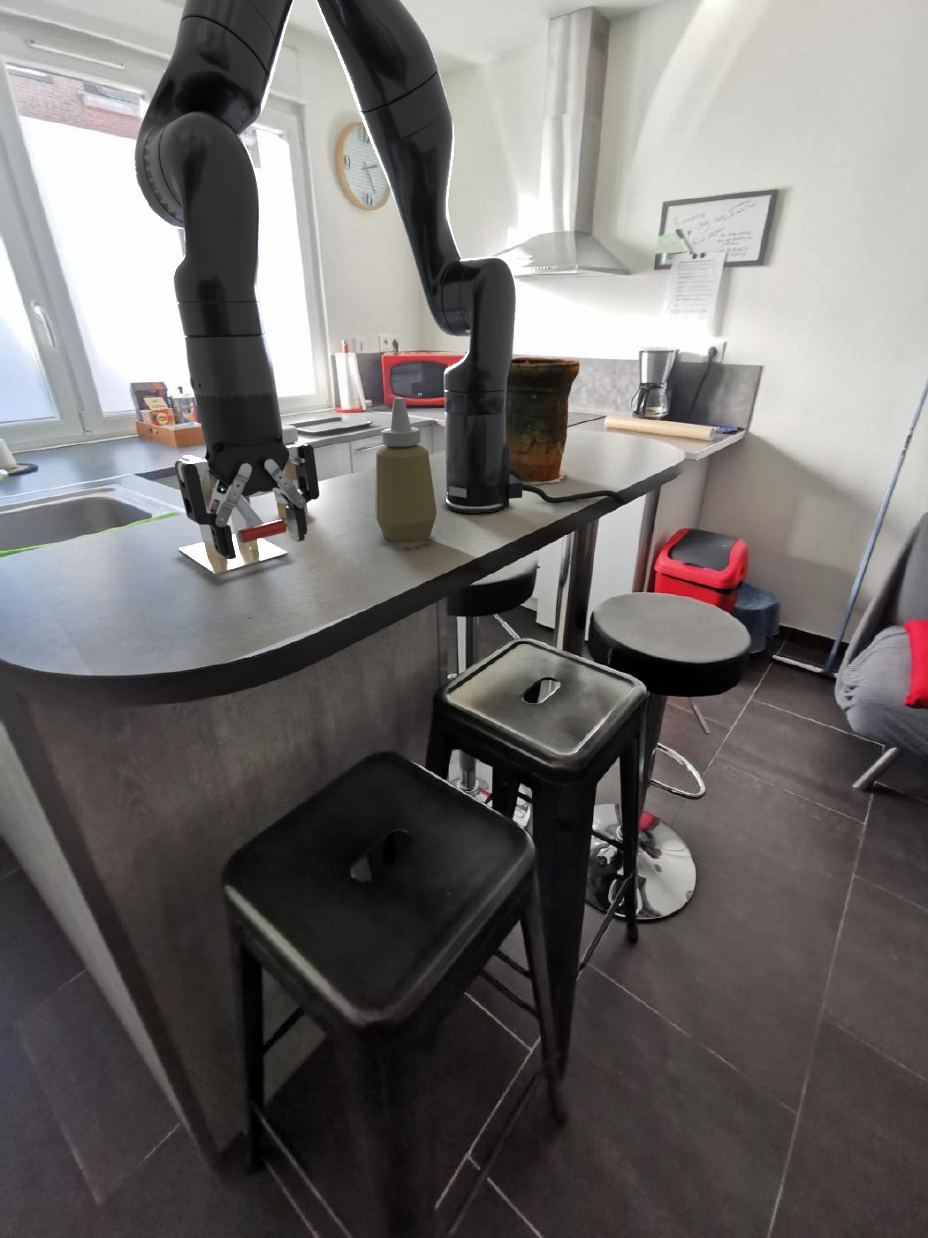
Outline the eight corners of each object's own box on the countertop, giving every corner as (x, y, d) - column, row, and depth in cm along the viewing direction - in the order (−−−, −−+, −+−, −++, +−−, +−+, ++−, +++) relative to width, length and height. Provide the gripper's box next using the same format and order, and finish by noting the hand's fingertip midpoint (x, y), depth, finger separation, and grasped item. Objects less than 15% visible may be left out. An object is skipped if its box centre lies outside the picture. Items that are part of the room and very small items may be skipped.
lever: (286, 538, 63) (287, 521, 62) (243, 549, 60) (244, 532, 59) (230, 469, 68) (230, 452, 66) (188, 476, 65) (187, 459, 63)
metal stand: (289, 562, 70) (271, 456, 64) (217, 583, 64) (190, 470, 58) (248, 540, 77) (229, 443, 71) (181, 558, 71) (153, 455, 65)
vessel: (584, 482, 101) (595, 360, 92) (509, 489, 98) (512, 363, 89) (552, 465, 113) (559, 355, 104) (484, 470, 110) (485, 357, 101)
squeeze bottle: (390, 555, 71) (378, 404, 63) (369, 536, 77) (355, 396, 69) (447, 544, 74) (443, 399, 66) (423, 527, 81) (416, 392, 72)
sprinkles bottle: (314, 522, 83) (301, 427, 77) (283, 528, 81) (267, 430, 75) (303, 514, 87) (290, 422, 80) (274, 519, 84) (257, 426, 78)
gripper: (172, 398, 48) (215, 576, 55) (321, 385, 56) (339, 540, 64) (143, 391, 52) (186, 556, 60) (284, 380, 61) (305, 525, 69)
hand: (265, 548), depth 62 cm, fingers open, 7 cm apart
